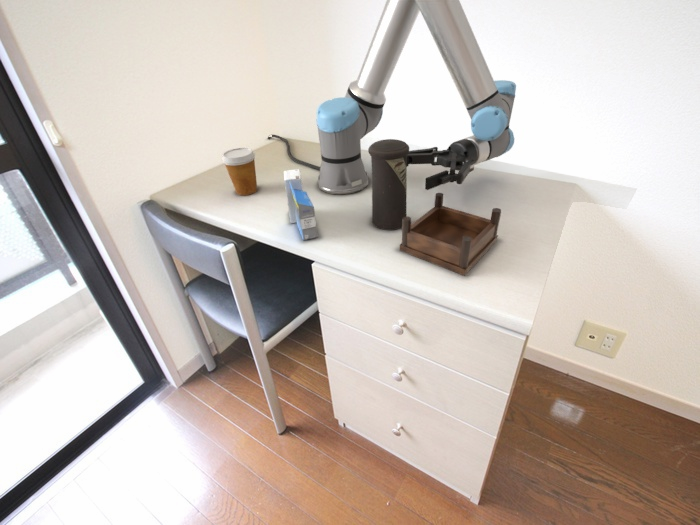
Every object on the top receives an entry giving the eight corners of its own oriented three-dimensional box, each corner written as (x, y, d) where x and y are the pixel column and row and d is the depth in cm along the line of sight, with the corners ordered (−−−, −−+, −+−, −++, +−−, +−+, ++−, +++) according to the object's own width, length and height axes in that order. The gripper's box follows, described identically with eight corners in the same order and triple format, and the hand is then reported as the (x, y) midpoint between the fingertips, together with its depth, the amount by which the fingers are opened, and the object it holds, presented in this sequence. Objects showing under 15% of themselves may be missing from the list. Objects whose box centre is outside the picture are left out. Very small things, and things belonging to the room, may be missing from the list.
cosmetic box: (289, 212, 100) (282, 170, 93) (306, 210, 100) (299, 168, 93) (290, 224, 95) (282, 180, 88) (307, 221, 95) (301, 177, 88)
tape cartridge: (318, 237, 88) (312, 190, 81) (302, 241, 88) (294, 193, 80) (311, 220, 95) (304, 175, 88) (296, 223, 95) (288, 178, 87)
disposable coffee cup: (267, 184, 116) (259, 147, 109) (254, 198, 108) (245, 159, 101) (239, 183, 118) (230, 146, 111) (225, 197, 110) (214, 158, 103)
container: (405, 232, 88) (408, 149, 76) (368, 230, 90) (365, 149, 78) (408, 214, 95) (410, 136, 83) (373, 213, 97) (371, 136, 85)
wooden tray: (399, 250, 82) (399, 219, 77) (435, 221, 91) (437, 191, 86) (464, 276, 73) (469, 242, 69) (497, 241, 82) (503, 209, 78)
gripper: (504, 180, 91) (443, 207, 82) (432, 154, 108) (374, 174, 99) (510, 150, 86) (446, 175, 77) (433, 128, 103) (374, 147, 94)
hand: (406, 175), depth 88 cm, fingers open, 13 cm apart
